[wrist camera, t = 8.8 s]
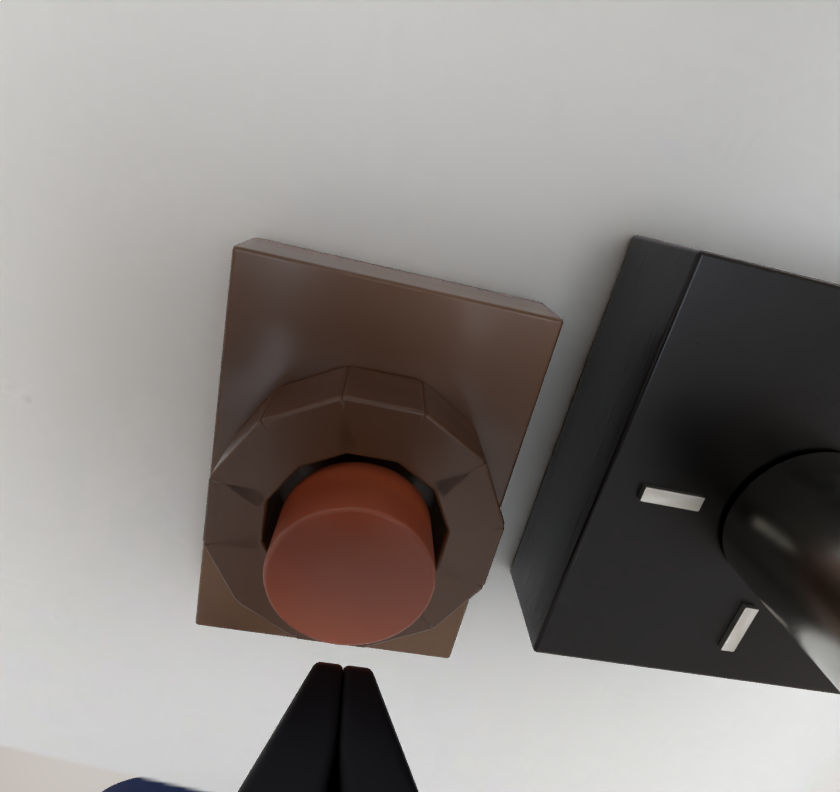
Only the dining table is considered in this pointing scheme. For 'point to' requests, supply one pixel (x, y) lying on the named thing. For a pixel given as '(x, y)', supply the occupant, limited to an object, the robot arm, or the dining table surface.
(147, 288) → the dining table surface
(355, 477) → the button
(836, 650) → the dial
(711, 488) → the panel
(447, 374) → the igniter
